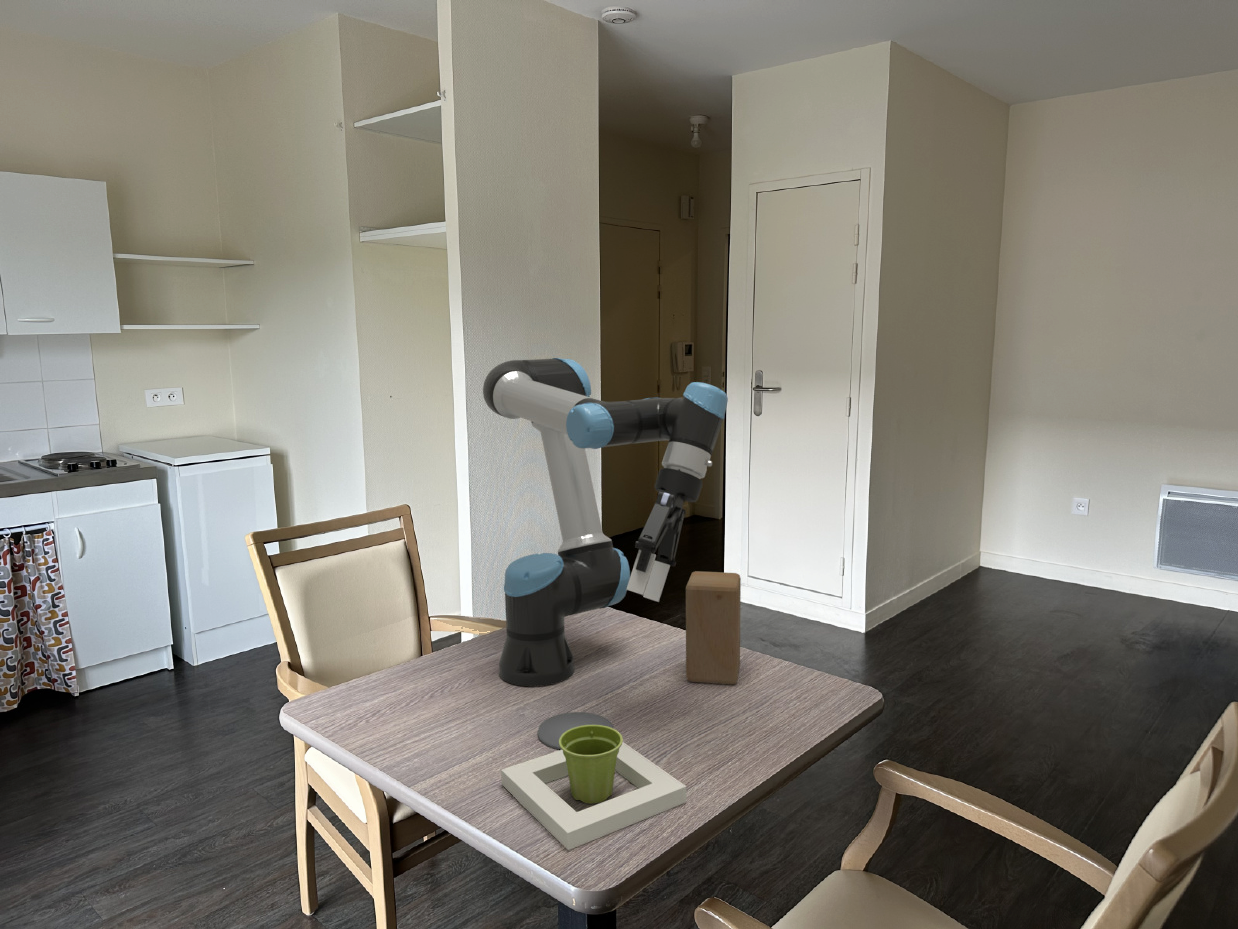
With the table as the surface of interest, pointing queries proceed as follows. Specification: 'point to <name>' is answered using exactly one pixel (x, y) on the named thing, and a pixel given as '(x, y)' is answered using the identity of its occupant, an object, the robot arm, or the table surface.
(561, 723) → the mat
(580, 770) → the plant pot
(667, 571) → the robot arm
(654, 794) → the well board
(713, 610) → the wooden block
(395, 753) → the table surface
